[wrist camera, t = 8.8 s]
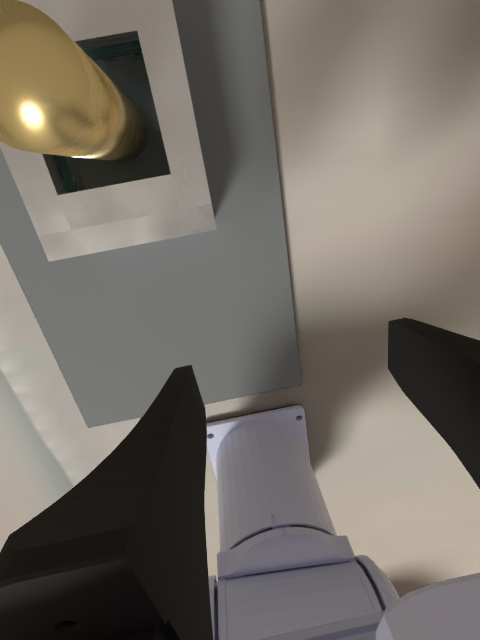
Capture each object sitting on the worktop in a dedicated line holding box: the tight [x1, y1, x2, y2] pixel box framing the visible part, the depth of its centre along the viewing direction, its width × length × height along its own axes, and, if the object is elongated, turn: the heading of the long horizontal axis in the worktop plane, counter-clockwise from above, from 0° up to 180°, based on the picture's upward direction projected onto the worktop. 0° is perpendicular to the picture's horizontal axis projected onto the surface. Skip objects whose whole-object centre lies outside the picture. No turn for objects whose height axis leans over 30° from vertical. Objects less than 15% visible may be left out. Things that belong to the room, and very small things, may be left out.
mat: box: [0, 0, 302, 428], centre depth 19 cm, size 26×16×1 cm, turn 10°
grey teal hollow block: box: [0, 0, 217, 262], centre depth 15 cm, size 13×8×4 cm, turn 10°
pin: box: [0, 0, 147, 162], centre depth 12 cm, size 3×3×10 cm
